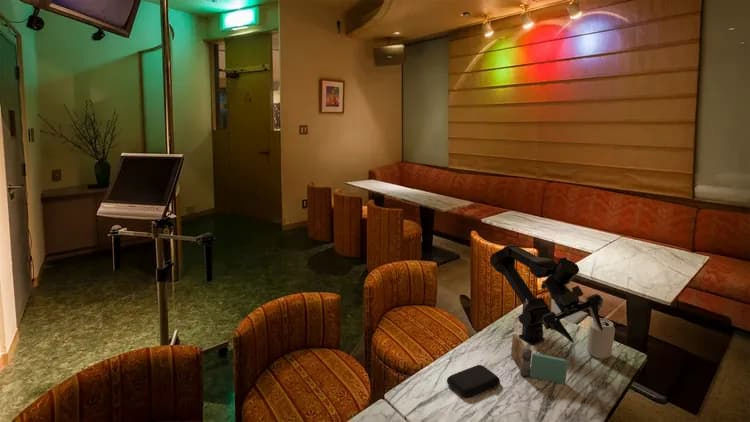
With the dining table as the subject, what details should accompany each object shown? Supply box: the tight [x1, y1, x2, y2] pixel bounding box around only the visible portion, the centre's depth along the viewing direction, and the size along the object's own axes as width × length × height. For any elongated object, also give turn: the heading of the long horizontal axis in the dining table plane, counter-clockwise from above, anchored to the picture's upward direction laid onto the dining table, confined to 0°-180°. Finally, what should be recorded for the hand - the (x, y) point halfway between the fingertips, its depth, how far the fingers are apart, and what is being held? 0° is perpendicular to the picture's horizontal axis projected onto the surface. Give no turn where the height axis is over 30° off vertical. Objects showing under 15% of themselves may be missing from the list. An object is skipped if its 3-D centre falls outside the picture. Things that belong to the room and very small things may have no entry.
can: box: [586, 317, 616, 360], centre depth 148 cm, size 8×8×12 cm
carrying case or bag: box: [446, 364, 501, 399], centre depth 133 cm, size 11×3×15 cm
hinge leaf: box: [521, 352, 569, 385], centre depth 135 cm, size 13×3×8 cm, turn 68°
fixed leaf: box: [510, 333, 533, 379], centre depth 141 cm, size 12×3×9 cm, turn 3°
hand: (587, 336), depth 133 cm, fingers open, 9 cm apart
